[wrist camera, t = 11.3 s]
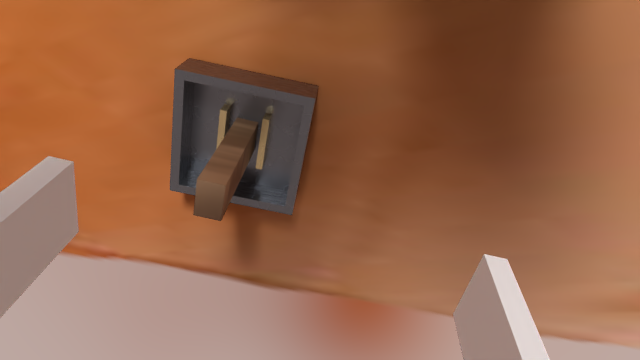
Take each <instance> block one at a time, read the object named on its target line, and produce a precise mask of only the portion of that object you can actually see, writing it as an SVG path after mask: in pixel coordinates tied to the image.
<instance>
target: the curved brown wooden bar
mask: <svg viewBox="0 0 640 360" xmlns="http://www.w3.org/2000/svg"><path fill="white" fill-rule="evenodd" d="M258 123H259V122H255V121H250V120H246V119H242V118H237V119H236V120H235V122H234V123H233V125H232V126H231V128H230V129H229V131H228V132H227V134H226V135H225V137H224V138H223V140H222V142H221V143H220V145H219V146H218V148H217V149H216V151H215V152H214V154H213V155H212V157H211V158H210V160H209V161H208V163H207V165H206V166H205V168H204V169H203V171H202V172H201V174H200V175H199V177H198V178H197V184H196V194H195V204H194V215H195V216H200V217H205V218H209V219H214V220H218V221H221V220H222V218H223V216H224V214H225V212H226V209H227V207H228V205H229V203H230V201H231V199H232V197H233V195H234V192H235V190H236V188H237V186H238V184H239V182H240V180H241V178H242V176H243V173H244V171H245V169H246V167H247V165H248V163H249V161H250V159H251V156H252V154H253V152H254V148H255V142H256V135H257V129H258Z"/></svg>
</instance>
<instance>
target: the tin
mask: <svg viewBox="0 0 640 360" xmlns="http://www.w3.org/2000/svg"><path fill="white" fill-rule="evenodd" d="M317 91H318V86H317V85H312V84H308V83H303V82H298V81H294V80H289V79H284V78H279V77H275V76H270V75H265V74H261V73H256V72H251V71H247V70H242V69H237V68H233V67H228V66H223V65H219V64H214V63H209V62H205V61H200V60H195V59H191V58H189V59H187V60H186V61H185V62H183V63H182V64H181V65H179V66H178V67H177V68H175V79H174V103H173V127H172V150H171V174H170V190H171V191H176V192H181V193H186V194H191V195H195V194H196V184H197V178H198V177H199V175H200V174H201V172H202V171H203V169H204V168H205V166H206V165H207V163H208V161H209V160H210V158H211V157H212V155H213V154H214V152H215V151H216V149H217V148H218V146H219V145H220V143H221V142H222V140H223V138H224V137H225V135H226V134H227V132H228V131H229V129H230V128H231V126H232V125H233V123H234V122H235V120H236V119H237V118H242V119H246V120H250V121H255V122H259V123H258V129H257V135H256V142H255V148H254V152H253V154H252V156H251V159H250V161H249V163H248V165H247V167H246V169H245V171H244V173H243V176H242V178H241V180H240V182H239V184H238V186H237V188H236V190H235V192H234V195H233V197H232V199H231V201H230V203H235V204H240V205H245V206H250V207H255V208H260V209H264V210H269V211H274V212H279V213H284V214H289V215H292V213H293V209H294V204H295V200H296V196H297V191H298V186H299V181H300V176H301V171H302V166H303V161H304V156H305V151H306V146H307V141H308V136H309V131H310V126H311V121H312V116H313V111H314V106H315V101H316V96H317Z"/></svg>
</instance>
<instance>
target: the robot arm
mask: <svg viewBox="0 0 640 360" xmlns="http://www.w3.org/2000/svg"><path fill="white" fill-rule="evenodd" d="M78 232H79V231H78V217H77V204H76V190H75V176H74V163H73V161H68V160H64V159H60V158H55V157H51V156H48V157H47V158H45V159H44V160H43V161H41V162H40V163H39V164H37V165H36V166H35V167H33V168H32V169H31V170H29V171H28V172H27V173H25V174H24V175H23V176H21V177H20V178H19V179H18V180H16V181H15V182H14V183H12V184H11V185H10V186H8V187H7V188H6V189H4V190H3V191H2V192H0V318H1V317H2V316H3V314H4V313H5V312H6V311H7V310H8V309H9V308H10V307H11V306H12V304H13V303H14V302H15V301H16V300H17V299H18V298H19V297H20V296H21V295H22V294H23V292H24V291H25V290H26V289H27V288H28V287H29V286H30V285H31V284H32V282H33V281H34V280H35V279H36V278H37V277H38V276H39V275H40V273H42V271H43V270H44V269H45V268H46V267H47V266H48V265H49V264H50V262H52V260H53V259H54V258H55V257H56V256H57V255H58V254H59V253H60V252H61V251H62V249H63V248H64V247H65V246H66V245H67V244H68V243H69V242H70V241H71V240H72V238H73V237H74V236H75V235H76V234H77V233H78ZM453 316H454V320H455V324H456V329H457V333H458V337H459V341H460V346H461V350H462V355H463V359H464V360H550V359H549V357H548V354H547V352H546V349H545V347H544V345H543V342H542V340H541V338H540V335H539V333H538V331H537V328H536V326H535V323H534V321H533V319H532V316H531V314H530V312H529V309H528V307H527V305H526V302H525V300H524V298H523V295H522V293H521V290H520V288H519V286H518V283H517V281H516V279H515V276H514V274H513V272H512V269H511V267H510V265H509V262H508V260H507V259H504V258H500V257H495V256H491V255H486V254H484V255H483V257H482V259H481V261H480V263H479V265H478V267H477V269H476V271H475V273H474V275H473V276H472V278H471V280H470V282H469V284H468V286H467V288H466V290H465V292H464V294H463V296H462V298H461V300H460V302H459V303H458V305H457V307H456V309H455V311H454V313H453Z"/></svg>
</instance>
